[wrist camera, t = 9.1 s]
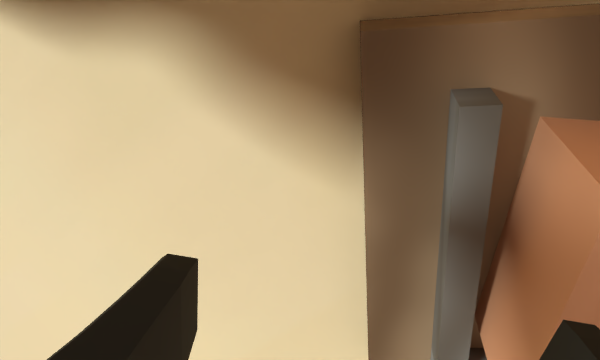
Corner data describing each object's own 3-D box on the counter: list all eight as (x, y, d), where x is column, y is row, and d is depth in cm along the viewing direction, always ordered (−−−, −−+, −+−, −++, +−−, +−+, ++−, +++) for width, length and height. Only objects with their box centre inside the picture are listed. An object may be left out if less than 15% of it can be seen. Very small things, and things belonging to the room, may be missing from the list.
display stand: (368, 348, 23) (369, 402, 21) (360, 21, 15) (360, 43, 13) (673, 355, 21) (716, 416, 19) (844, -14, 13) (959, 4, 11)
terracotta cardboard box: (474, 314, 19) (507, 430, 15) (539, 116, 15) (614, 201, 11) (572, 325, 19) (634, 446, 15) (670, 126, 15) (801, 217, 10)
